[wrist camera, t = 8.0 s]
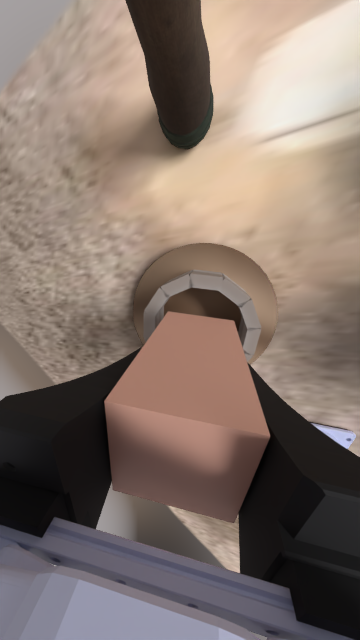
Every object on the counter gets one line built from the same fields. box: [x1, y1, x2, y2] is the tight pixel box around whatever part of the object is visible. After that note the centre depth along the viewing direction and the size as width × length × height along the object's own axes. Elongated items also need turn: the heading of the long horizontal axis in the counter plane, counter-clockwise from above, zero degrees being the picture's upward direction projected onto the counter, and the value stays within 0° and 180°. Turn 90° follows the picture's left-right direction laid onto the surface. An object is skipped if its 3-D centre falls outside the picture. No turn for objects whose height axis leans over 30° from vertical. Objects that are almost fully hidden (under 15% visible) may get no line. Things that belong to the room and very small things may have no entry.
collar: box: [133, 243, 278, 364], centre depth 17 cm, size 14×14×4 cm
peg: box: [104, 311, 270, 523], centre depth 9 cm, size 4×4×8 cm
